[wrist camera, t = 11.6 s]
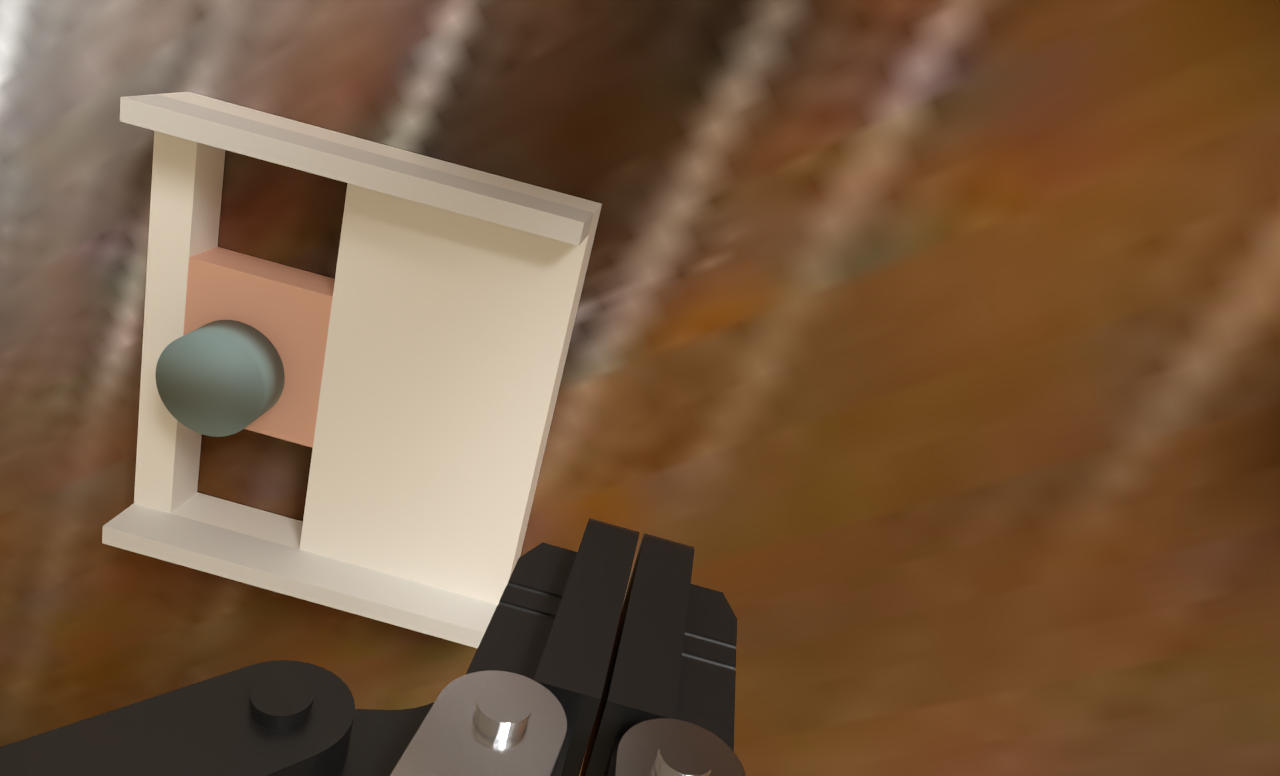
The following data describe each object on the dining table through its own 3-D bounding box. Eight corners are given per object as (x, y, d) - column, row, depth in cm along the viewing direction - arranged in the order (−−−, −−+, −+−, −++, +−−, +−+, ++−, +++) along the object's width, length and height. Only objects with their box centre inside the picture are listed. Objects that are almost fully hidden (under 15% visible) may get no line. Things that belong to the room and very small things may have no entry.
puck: (188, 308, 45) (157, 323, 42) (288, 333, 44) (263, 349, 42) (183, 403, 46) (153, 422, 44) (280, 427, 46) (255, 447, 44)
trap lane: (188, 91, 43) (120, 96, 39) (602, 203, 43) (584, 222, 38) (161, 498, 51) (101, 543, 47) (511, 595, 51) (486, 651, 46)
